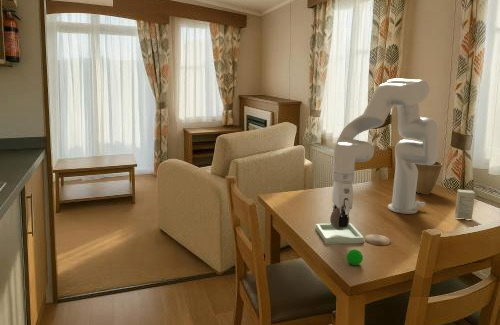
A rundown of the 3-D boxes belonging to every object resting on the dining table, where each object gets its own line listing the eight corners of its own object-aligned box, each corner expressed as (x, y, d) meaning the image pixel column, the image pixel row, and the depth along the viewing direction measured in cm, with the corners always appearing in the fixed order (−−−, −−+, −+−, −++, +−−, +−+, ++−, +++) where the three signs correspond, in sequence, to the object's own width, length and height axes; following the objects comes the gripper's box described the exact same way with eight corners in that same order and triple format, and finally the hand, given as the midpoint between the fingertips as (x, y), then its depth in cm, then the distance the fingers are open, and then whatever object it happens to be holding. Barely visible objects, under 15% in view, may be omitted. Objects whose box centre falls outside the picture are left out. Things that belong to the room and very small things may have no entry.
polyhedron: (364, 267, 130) (365, 253, 129) (349, 268, 129) (350, 254, 128) (358, 260, 135) (359, 246, 134) (344, 260, 134) (345, 247, 133)
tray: (350, 228, 162) (351, 223, 161) (363, 242, 148) (363, 237, 148) (315, 228, 161) (316, 223, 160) (325, 243, 147) (325, 238, 147)
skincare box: (470, 217, 177) (474, 190, 174) (471, 221, 173) (476, 193, 170) (453, 215, 179) (457, 188, 176) (454, 219, 175) (458, 191, 172)
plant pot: (443, 197, 205) (447, 165, 202) (413, 196, 205) (417, 165, 202) (431, 188, 220) (434, 159, 216) (403, 187, 220) (406, 158, 216)
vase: (348, 232, 150) (350, 209, 148) (329, 230, 151) (331, 208, 149) (348, 225, 156) (350, 203, 155) (329, 224, 158) (331, 202, 156)
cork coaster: (384, 235, 156) (384, 234, 156) (394, 245, 147) (394, 244, 147) (361, 235, 155) (361, 234, 155) (370, 245, 146) (370, 244, 146)
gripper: (361, 183, 141) (357, 231, 145) (345, 170, 158) (342, 214, 162) (340, 183, 141) (336, 232, 145) (326, 170, 158) (323, 215, 161)
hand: (339, 222), depth 153 cm, fingers closed on vase, 6 cm apart
